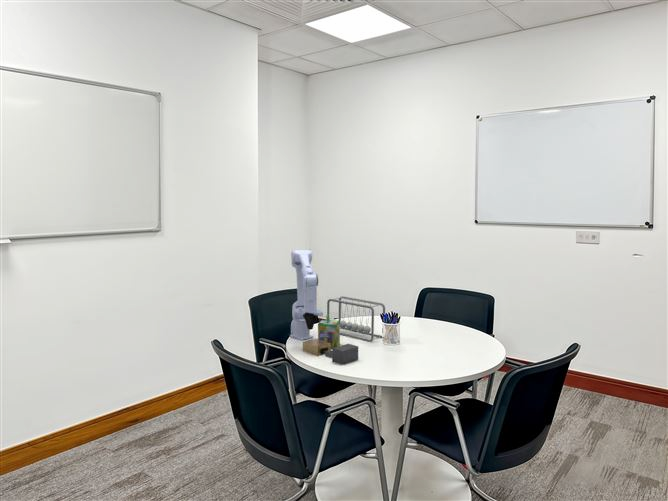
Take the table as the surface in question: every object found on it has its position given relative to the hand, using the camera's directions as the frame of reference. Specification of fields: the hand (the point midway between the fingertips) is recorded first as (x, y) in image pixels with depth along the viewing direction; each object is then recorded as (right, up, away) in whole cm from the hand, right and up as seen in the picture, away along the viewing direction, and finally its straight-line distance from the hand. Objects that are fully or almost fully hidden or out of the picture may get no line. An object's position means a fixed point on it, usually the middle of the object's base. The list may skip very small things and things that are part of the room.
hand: (310, 329), depth 236 cm
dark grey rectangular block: (+14, -11, -13) cm, 22 cm away
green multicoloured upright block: (+9, -9, +8) cm, 15 cm away
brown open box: (+3, -10, -2) cm, 11 cm away
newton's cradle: (+22, -7, +27) cm, 35 cm away
